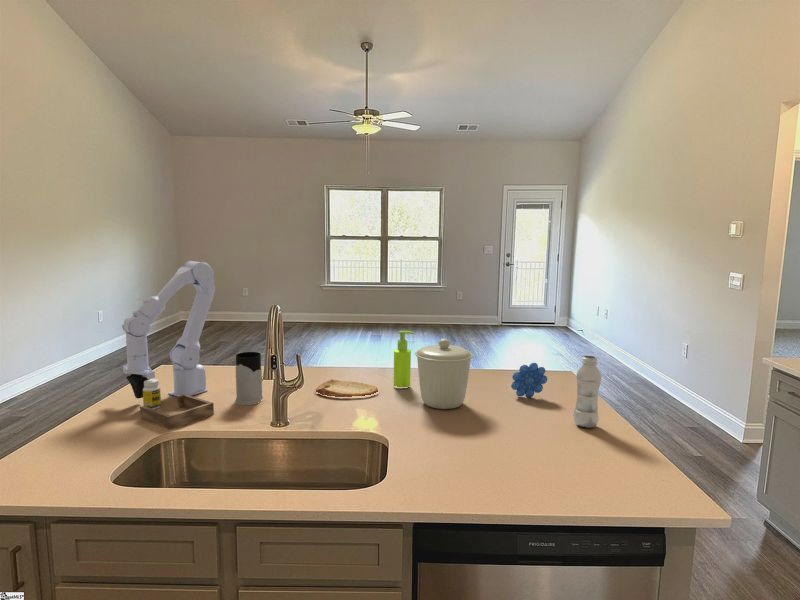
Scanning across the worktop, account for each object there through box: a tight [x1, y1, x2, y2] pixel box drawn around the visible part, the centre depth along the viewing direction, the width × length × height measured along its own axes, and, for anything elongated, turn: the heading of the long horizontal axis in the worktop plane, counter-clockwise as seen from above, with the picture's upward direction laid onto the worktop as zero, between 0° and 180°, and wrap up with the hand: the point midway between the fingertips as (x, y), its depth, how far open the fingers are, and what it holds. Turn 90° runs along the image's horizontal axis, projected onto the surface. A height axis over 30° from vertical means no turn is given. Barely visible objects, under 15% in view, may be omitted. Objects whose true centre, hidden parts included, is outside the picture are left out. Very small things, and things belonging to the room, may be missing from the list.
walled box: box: [139, 394, 215, 430], centre depth 142 cm, size 14×14×4 cm
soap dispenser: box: [393, 330, 415, 387], centre depth 173 cm, size 6×7×20 cm
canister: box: [414, 338, 474, 410], centre depth 155 cm, size 18×18×21 cm
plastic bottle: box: [573, 355, 602, 429], centre depth 138 cm, size 6×7×20 cm
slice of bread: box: [315, 379, 379, 397], centre depth 166 cm, size 18×18×4 cm
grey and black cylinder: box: [235, 351, 265, 406], centre depth 159 cm, size 9×14×15 cm, turn 159°
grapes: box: [510, 362, 548, 399], centre depth 164 cm, size 12×7×12 cm, turn 85°
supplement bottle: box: [142, 378, 162, 410], centre depth 149 cm, size 5×5×8 cm
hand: (140, 397), depth 153 cm, fingers closed
